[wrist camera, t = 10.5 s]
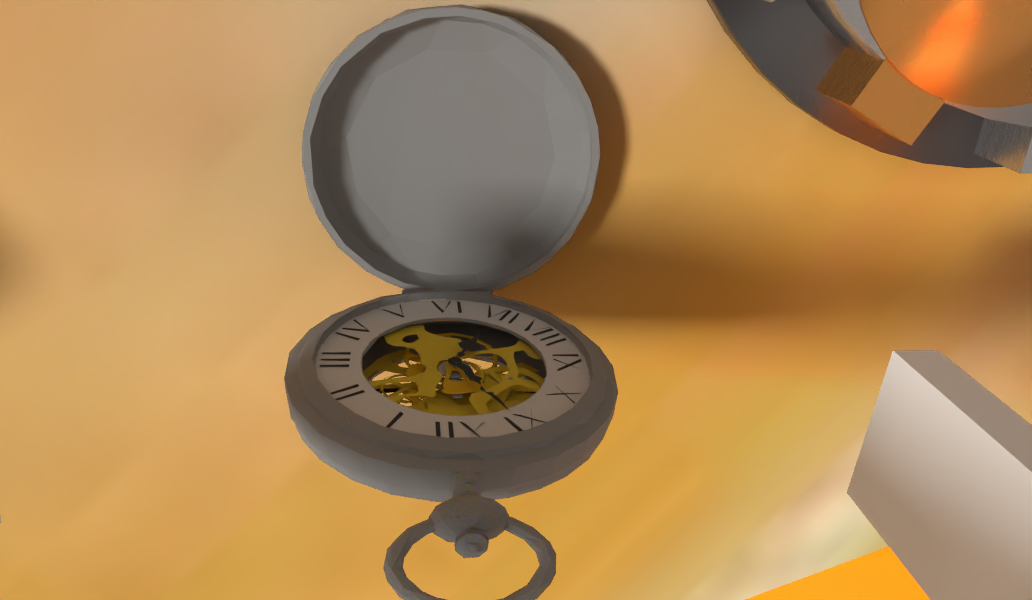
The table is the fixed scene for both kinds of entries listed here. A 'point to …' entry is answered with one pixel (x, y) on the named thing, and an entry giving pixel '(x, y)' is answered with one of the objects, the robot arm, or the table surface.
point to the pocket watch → (451, 275)
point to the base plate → (806, 60)
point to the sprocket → (935, 67)
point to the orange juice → (854, 582)
